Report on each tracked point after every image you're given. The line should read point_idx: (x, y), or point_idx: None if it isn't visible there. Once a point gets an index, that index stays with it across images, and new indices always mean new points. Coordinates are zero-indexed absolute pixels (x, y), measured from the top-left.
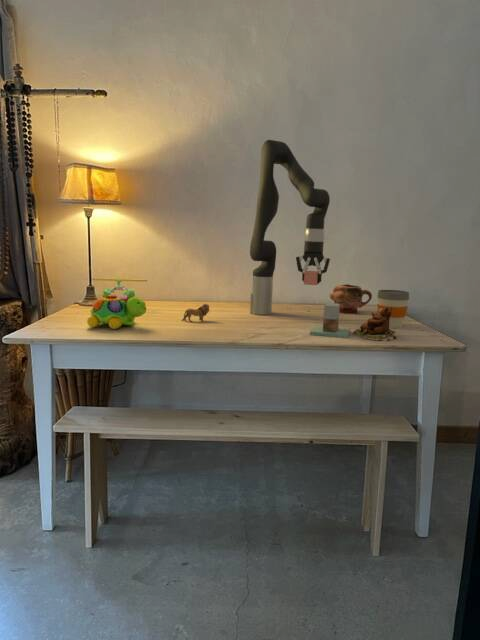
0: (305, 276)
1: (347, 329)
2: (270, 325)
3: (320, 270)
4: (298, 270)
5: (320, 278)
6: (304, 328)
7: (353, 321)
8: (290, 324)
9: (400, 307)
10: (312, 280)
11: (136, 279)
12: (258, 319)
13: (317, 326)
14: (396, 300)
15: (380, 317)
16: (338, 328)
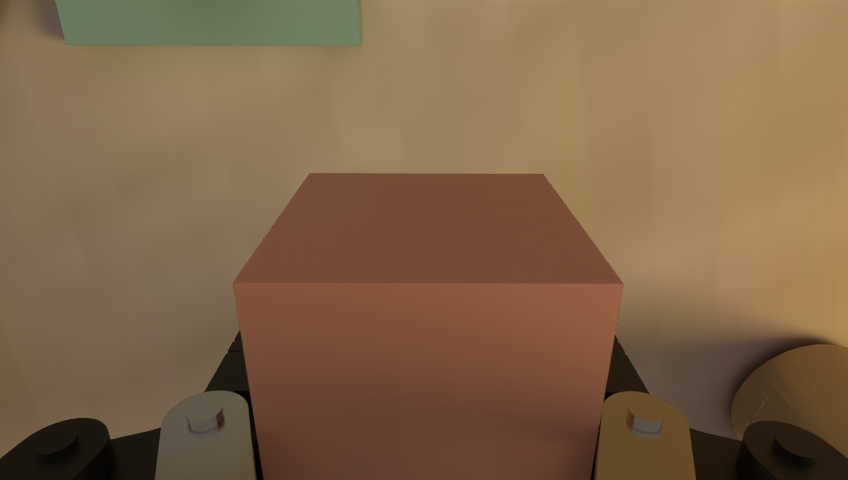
0: (554, 232)
1: (78, 9)
2: (723, 28)
3: (166, 466)
4: (810, 435)
5: (238, 352)
6: (440, 26)
7: None
8: (567, 145)
9: None
10: (379, 201)
11: None
12: (819, 233)
13: (333, 29)
14: None
15: None
16: (155, 19)
